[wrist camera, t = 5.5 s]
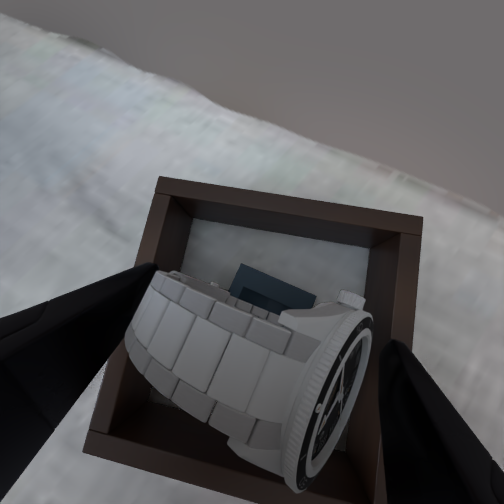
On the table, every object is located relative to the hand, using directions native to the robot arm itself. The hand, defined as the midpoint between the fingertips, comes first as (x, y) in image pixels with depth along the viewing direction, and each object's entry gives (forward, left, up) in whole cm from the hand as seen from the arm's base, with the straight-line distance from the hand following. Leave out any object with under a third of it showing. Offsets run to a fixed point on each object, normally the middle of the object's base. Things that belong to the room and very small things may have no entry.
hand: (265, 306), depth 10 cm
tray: (-1, 0, -7) cm, 7 cm away
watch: (-1, 0, -7) cm, 7 cm away
